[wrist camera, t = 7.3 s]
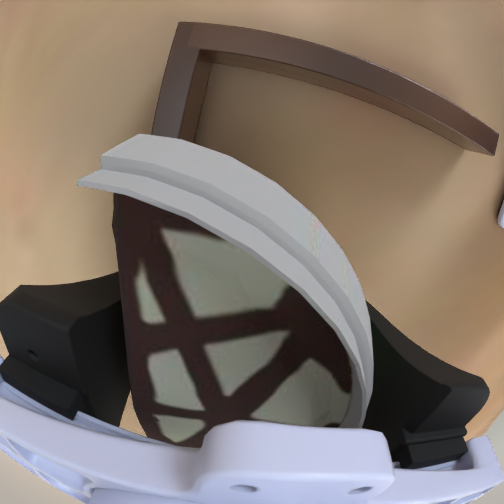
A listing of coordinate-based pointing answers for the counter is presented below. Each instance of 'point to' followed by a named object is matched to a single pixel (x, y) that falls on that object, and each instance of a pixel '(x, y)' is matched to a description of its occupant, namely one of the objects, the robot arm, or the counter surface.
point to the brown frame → (305, 69)
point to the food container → (230, 296)
